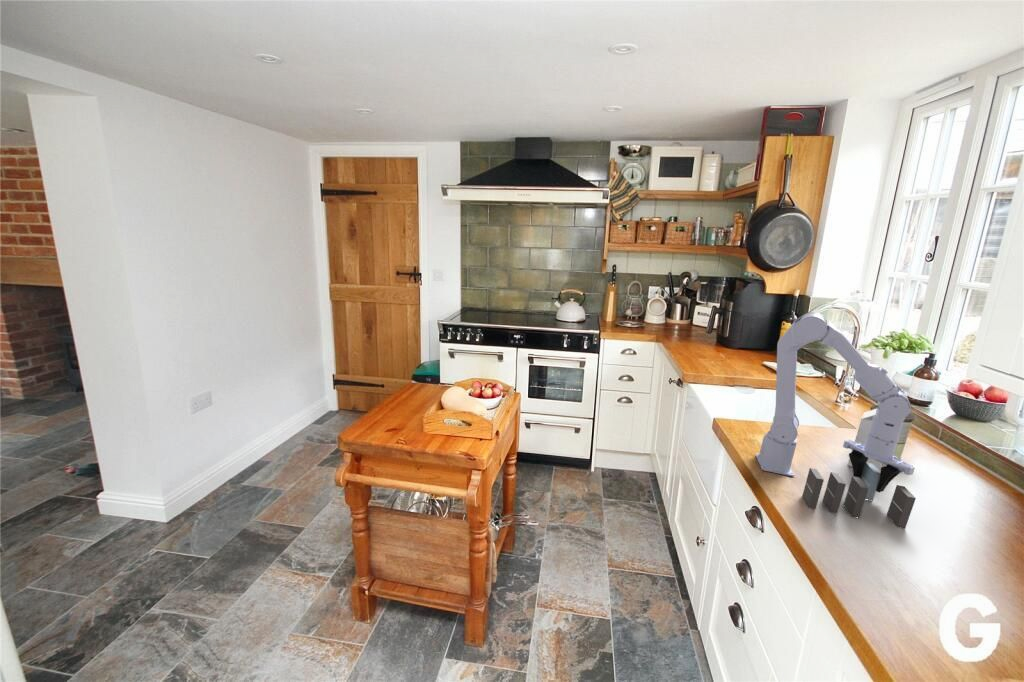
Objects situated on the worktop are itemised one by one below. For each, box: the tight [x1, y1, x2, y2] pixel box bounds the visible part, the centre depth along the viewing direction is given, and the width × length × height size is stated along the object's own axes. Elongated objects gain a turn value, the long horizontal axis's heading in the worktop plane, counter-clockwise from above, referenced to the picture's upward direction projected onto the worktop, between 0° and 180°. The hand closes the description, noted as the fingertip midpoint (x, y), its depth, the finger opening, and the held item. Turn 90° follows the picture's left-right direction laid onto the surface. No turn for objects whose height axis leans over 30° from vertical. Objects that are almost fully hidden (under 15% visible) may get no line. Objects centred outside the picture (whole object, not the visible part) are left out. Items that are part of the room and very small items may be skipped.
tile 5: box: [886, 484, 916, 529], centre depth 103 cm, size 2×5×8 cm, turn 162°
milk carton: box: [847, 409, 883, 472], centre depth 126 cm, size 7×7×19 cm
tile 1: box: [801, 467, 825, 510], centre depth 108 cm, size 2×5×8 cm, turn 163°
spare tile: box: [861, 463, 881, 502], centre depth 113 cm, size 2×5×8 cm, turn 163°
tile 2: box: [822, 472, 847, 515], centre depth 106 cm, size 2×5×8 cm, turn 162°
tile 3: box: [843, 475, 869, 519], centre depth 105 cm, size 2×5×8 cm, turn 162°
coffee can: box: [870, 404, 915, 460], centre depth 136 cm, size 10×10×14 cm
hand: (867, 485), depth 113 cm, fingers closed on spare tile, 5 cm apart
